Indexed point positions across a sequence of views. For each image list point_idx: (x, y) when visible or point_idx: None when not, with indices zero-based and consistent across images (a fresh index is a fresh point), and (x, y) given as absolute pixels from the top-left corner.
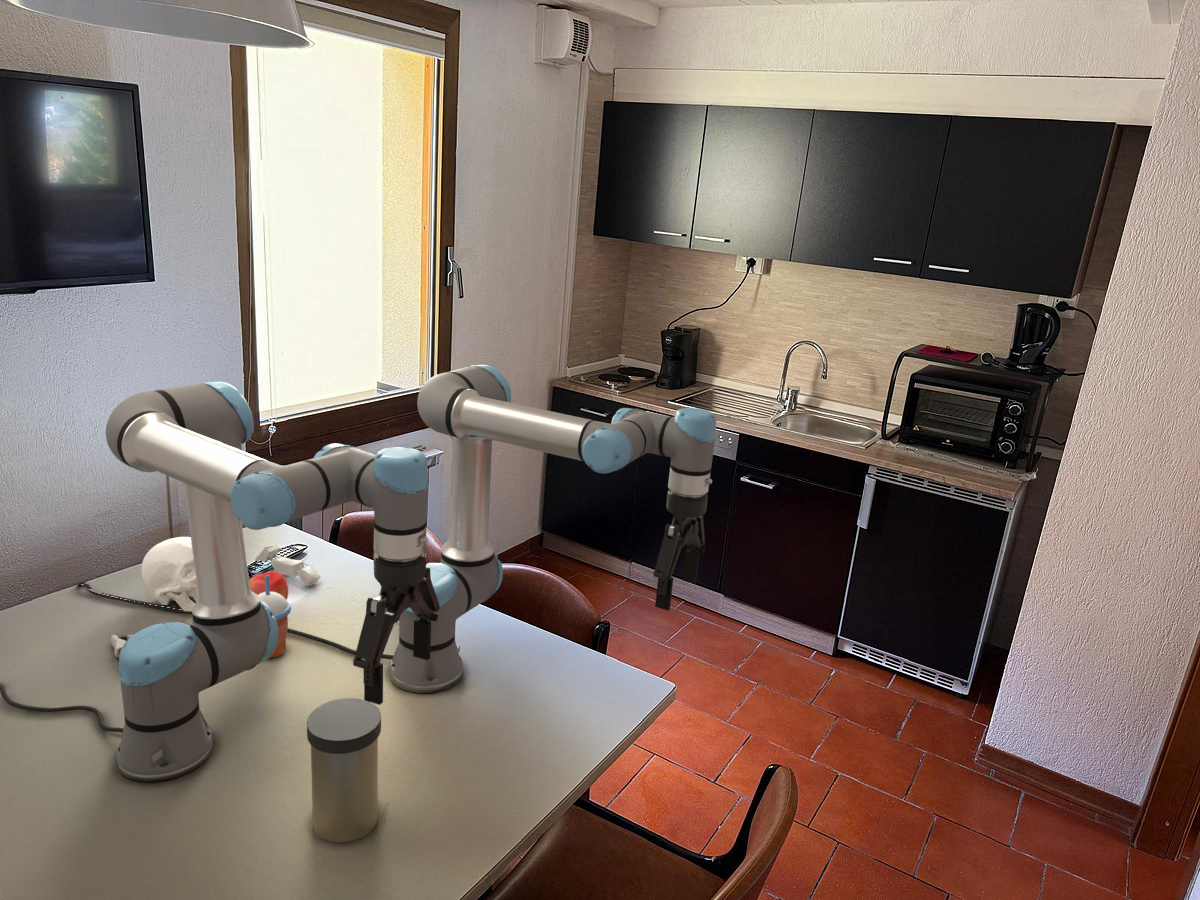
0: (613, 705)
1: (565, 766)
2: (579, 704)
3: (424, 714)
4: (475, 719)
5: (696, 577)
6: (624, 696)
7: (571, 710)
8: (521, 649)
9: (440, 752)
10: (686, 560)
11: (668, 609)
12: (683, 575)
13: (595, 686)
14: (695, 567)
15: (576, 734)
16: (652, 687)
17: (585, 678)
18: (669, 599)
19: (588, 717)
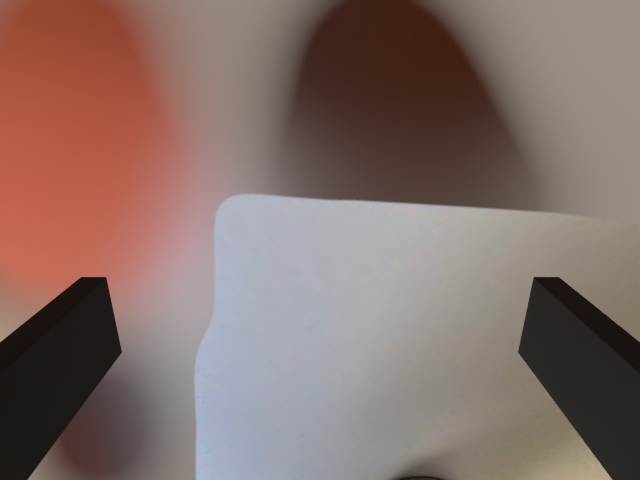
0: (332, 259)
1: (547, 249)
2: (364, 309)
3: (510, 469)
4: (489, 414)
5: (61, 296)
6: (292, 254)
7: (389, 312)
8: (268, 454)
9: None
10: (23, 463)
11: (563, 281)
12: (103, 371)
13: (294, 312)
14: (30, 357)
15: (452, 274)
16: (227, 222)
17: (282, 337)
18: (609, 319)
19: (393, 280)
